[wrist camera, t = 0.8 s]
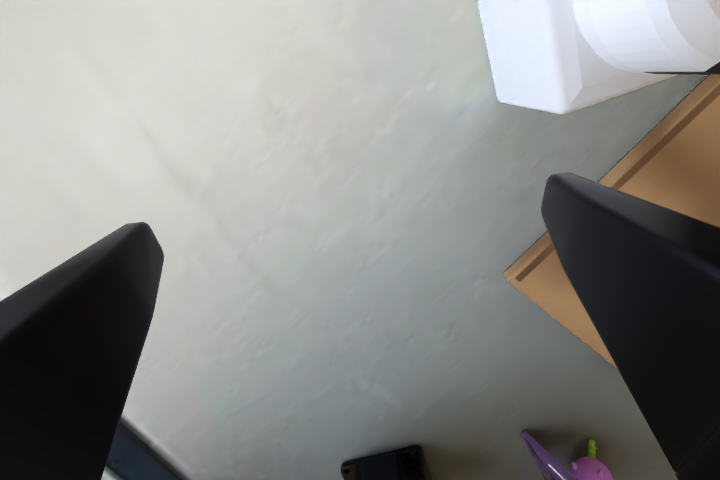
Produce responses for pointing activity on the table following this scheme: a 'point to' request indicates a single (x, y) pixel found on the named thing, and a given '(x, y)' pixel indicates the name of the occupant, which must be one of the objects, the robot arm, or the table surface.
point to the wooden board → (646, 181)
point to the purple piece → (586, 472)
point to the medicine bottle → (594, 47)
